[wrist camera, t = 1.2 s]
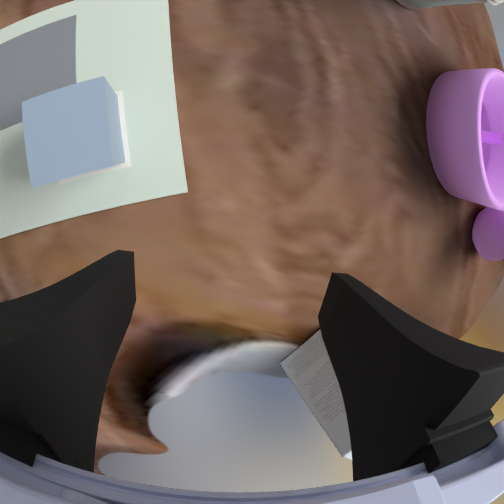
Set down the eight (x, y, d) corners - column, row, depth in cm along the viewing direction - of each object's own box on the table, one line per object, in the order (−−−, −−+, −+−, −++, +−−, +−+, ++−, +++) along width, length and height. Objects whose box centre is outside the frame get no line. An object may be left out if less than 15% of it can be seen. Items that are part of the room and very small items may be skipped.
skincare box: (299, 381, 29) (359, 466, 18) (277, 362, 27) (340, 458, 16) (344, 343, 29) (417, 418, 18) (327, 320, 27) (409, 402, 16)
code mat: (-11, 241, 16) (-13, 243, 15) (-27, 46, 10) (-29, 45, 10) (187, 191, 20) (187, 192, 19) (167, -16, 14) (167, -19, 13)
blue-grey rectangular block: (62, 178, 16) (31, 188, 11) (54, 113, 15) (21, 102, 10) (125, 162, 17) (113, 165, 12) (117, 96, 16) (103, 76, 11)
